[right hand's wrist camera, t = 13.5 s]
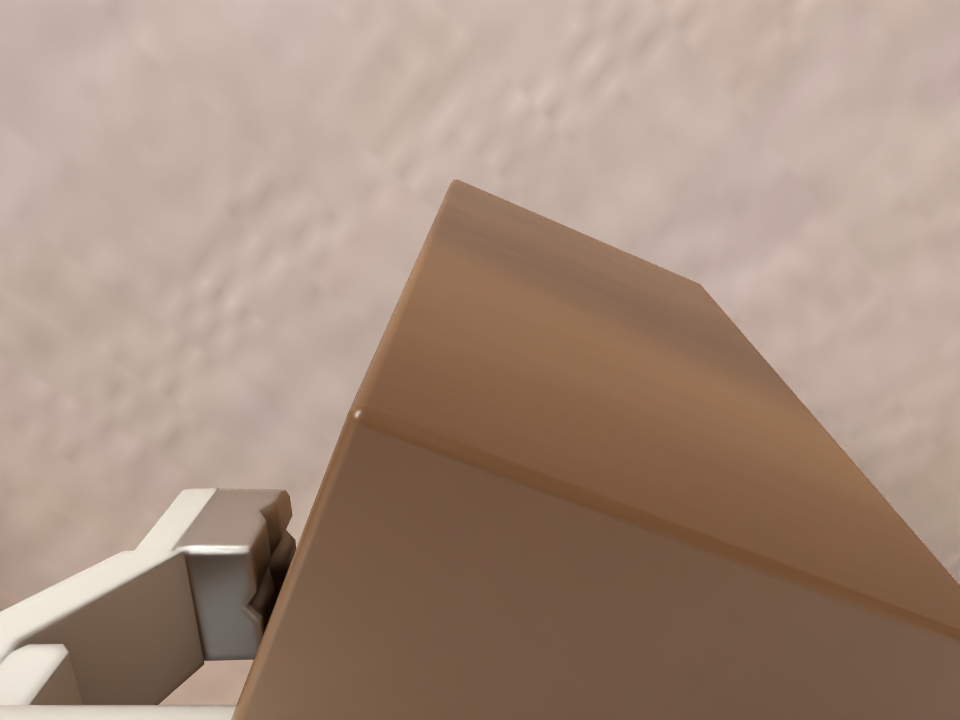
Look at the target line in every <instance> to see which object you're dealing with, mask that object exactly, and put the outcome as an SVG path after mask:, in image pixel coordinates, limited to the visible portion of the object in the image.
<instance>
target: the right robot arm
mask: <svg viewBox="0 0 960 720" xmlns="http://www.w3.org/2000/svg"><path fill="white" fill-rule="evenodd" d="M291 517H292V509H291V502H290V496H289V495H288V493H287V492H286V490H265V489H219V488H199V489H186V490H183V491H182V492H181V493H180V494H179V495H178V497H177V498H176V499H175V500H174V502H173V503H172V504H171V505H170V507H169V508H168V509H167V510H166V512H165V513H164V514H163V515H162V517H161V518H160V519H159V520H158V522H157V523H156V524H155V525H154V527H153V528H152V529H151V530H150V532H149V533H148V534H147V535H146V537H145V538H144V539H143V540H142V542H141V543H140V544H139V545H138V547H137V548H136V549H135V550H134V551H122V552H120V553H118V554H116V555H114V556H112V557H110V558H108V559H106V560H104V561H102V562H100V563H98V564H96V565H94V566H92V567H90V568H88V569H86V570H84V571H82V572H80V573H78V574H76V575H73V576H71V577H69V578H67V579H65V580H63V581H61V582H59V583H57V584H55V585H53V586H51V587H49V588H47V589H45V590H43V591H41V592H39V593H37V594H35V595H33V596H31V597H29V598H27V599H25V600H23V601H21V602H19V603H17V604H15V605H13V606H11V607H9V608H7V609H5V610H3V611H1V612H0V720H231V719H232V716H233V714H234V711H235V708H236V706H237V705H158V704H159V703H161V702H162V701H163V700H164V699H165V698H166V697H167V696H169V695H170V694H171V693H172V692H173V691H174V690H175V689H176V688H178V687H179V686H180V685H181V684H182V683H183V682H184V681H186V680H187V679H188V678H189V677H190V676H191V675H192V674H194V673H195V672H196V671H197V670H198V669H199V668H200V667H202V666H203V665H204V661H214V660H249V659H255V656H256V653H257V651H258V648H259V646H260V643H261V640H262V638H263V635H264V632H265V630H266V627H267V625H268V622H269V619H270V617H271V614H272V612H273V609H274V606H275V604H276V601H277V598H278V596H279V593H280V591H281V588H282V585H283V583H284V580H285V577H286V575H287V572H288V570H289V567H290V564H291V562H292V559H293V557H294V554H295V551H296V543H295V539H294V538H293V537H292V536H291V535H290V534H289V533H288V532H287V531H286V528H287V526H288V524H289V521H290V519H291Z"/></svg>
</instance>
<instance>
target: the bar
mask: <svg viewBox="0 0 960 720" xmlns="http://www.w3.org/2000/svg"><path fill="white" fill-rule="evenodd" d="M231 720H960V585H959V584H958V583H957V582H956V581H955V580H954V578H953V577H952V576H951V575H950V574H949V573H948V571H947V570H946V569H945V568H944V567H943V566H942V564H941V563H940V562H939V561H938V560H937V559H936V557H935V556H934V555H933V554H932V553H931V552H930V550H929V549H928V548H927V547H926V546H925V545H924V544H923V542H922V541H921V540H920V539H919V538H918V537H917V535H916V534H915V533H914V532H913V531H912V530H911V528H910V527H909V526H908V525H907V524H906V523H905V521H904V520H903V519H902V518H901V517H900V516H899V515H898V513H897V512H896V511H895V510H894V509H893V508H892V506H891V505H890V504H889V503H888V502H887V501H886V499H885V498H884V497H883V496H882V495H881V494H880V492H879V491H878V490H877V489H876V488H875V487H874V485H873V484H872V483H871V482H870V481H869V480H868V479H867V477H866V476H865V475H864V474H863V473H862V472H861V470H860V469H859V468H858V467H857V466H856V465H855V463H854V462H853V461H852V460H851V459H850V458H849V456H848V455H847V454H846V453H845V452H844V451H843V449H842V448H841V447H840V446H839V445H838V444H837V443H836V441H835V440H834V439H833V438H832V437H831V436H830V434H829V433H828V432H827V431H826V430H825V429H824V427H823V426H822V425H821V424H820V423H819V422H818V420H817V419H816V418H815V417H814V416H813V415H812V414H811V412H810V411H809V410H808V409H807V408H806V407H805V405H804V404H803V403H802V402H801V401H800V400H799V398H798V397H797V396H796V395H795V394H794V393H793V391H792V390H791V389H790V388H789V387H788V386H787V384H786V383H785V382H784V381H783V380H782V379H781V378H780V376H779V375H778V374H777V373H776V372H775V371H774V369H773V368H772V367H771V366H770V365H769V364H768V362H767V361H766V360H765V359H764V358H763V357H762V355H761V354H760V353H759V352H758V351H757V350H756V349H755V347H754V346H753V345H752V344H751V343H750V342H749V340H748V339H747V338H746V337H745V336H744V335H743V333H742V332H741V331H740V330H739V329H738V328H737V326H736V325H735V324H734V323H733V322H732V321H731V319H730V318H729V317H728V316H727V315H726V314H725V313H724V311H723V310H722V309H721V308H720V307H719V306H718V304H717V303H716V302H715V301H714V300H713V299H712V297H711V296H710V295H709V294H708V293H707V292H706V290H705V289H704V288H703V287H702V286H701V285H700V284H698V283H696V282H694V281H691V280H689V279H687V278H684V277H682V276H680V275H677V274H675V273H673V272H670V271H668V270H666V269H663V268H661V267H659V266H656V265H654V264H652V263H650V262H647V261H645V260H643V259H640V258H638V257H636V256H633V255H631V254H629V253H626V252H624V251H622V250H619V249H617V248H615V247H612V246H610V245H608V244H606V243H603V242H601V241H599V240H596V239H594V238H592V237H589V236H587V235H585V234H582V233H580V232H578V231H575V230H573V229H571V228H568V227H566V226H564V225H561V224H559V223H557V222H555V221H552V220H550V219H548V218H545V217H543V216H541V215H538V214H536V213H534V212H531V211H529V210H527V209H524V208H522V207H520V206H517V205H515V204H513V203H510V202H508V201H506V200H504V199H501V198H499V197H497V196H494V195H492V194H490V193H487V192H485V191H483V190H480V189H478V188H476V187H473V186H471V185H469V184H466V183H464V182H462V181H460V180H453V181H452V182H451V184H450V186H449V189H448V191H447V193H446V195H445V198H444V200H443V202H442V204H441V207H440V209H439V211H438V213H437V215H436V218H435V220H434V222H433V224H432V227H431V229H430V231H429V233H428V236H427V238H426V240H425V242H424V245H423V247H422V249H421V251H420V254H419V256H418V258H417V260H416V263H415V265H414V267H413V269H412V271H411V274H410V276H409V278H408V280H407V283H406V285H405V287H404V289H403V292H402V294H401V296H400V298H399V301H398V303H397V305H396V307H395V310H394V312H393V314H392V316H391V319H390V321H389V323H388V325H387V327H386V330H385V332H384V334H383V336H382V339H381V341H380V343H379V345H378V348H377V350H376V352H375V354H374V357H373V359H372V361H371V363H370V366H369V368H368V370H367V372H366V375H365V377H364V379H363V381H362V384H361V386H360V388H359V390H358V392H357V395H356V397H355V399H354V401H353V404H352V406H351V408H350V410H349V413H348V415H347V418H346V420H345V423H344V426H343V428H342V431H341V434H340V436H339V439H338V441H337V444H336V447H335V449H334V452H333V454H332V457H331V460H330V462H329V465H328V468H327V470H326V473H325V475H324V478H323V481H322V483H321V486H320V489H319V491H318V494H317V496H316V499H315V502H314V504H313V507H312V509H311V512H310V515H309V517H308V520H307V523H306V525H305V528H304V530H303V533H302V536H301V538H300V541H299V543H298V546H297V549H296V551H295V554H294V557H293V559H292V562H291V564H290V567H289V570H288V572H287V575H286V577H285V580H284V583H283V585H282V588H281V591H280V593H279V596H278V598H277V601H276V604H275V606H274V609H273V612H272V614H271V617H270V619H269V622H268V625H267V627H266V630H265V632H264V635H263V638H262V640H261V643H260V646H259V648H258V651H257V653H256V656H255V659H254V661H253V664H252V666H251V669H250V672H249V674H248V677H247V680H246V682H245V685H244V687H243V690H242V693H241V695H240V698H239V701H238V703H237V706H236V708H235V711H234V714H233V716H232V719H231Z"/></svg>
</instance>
